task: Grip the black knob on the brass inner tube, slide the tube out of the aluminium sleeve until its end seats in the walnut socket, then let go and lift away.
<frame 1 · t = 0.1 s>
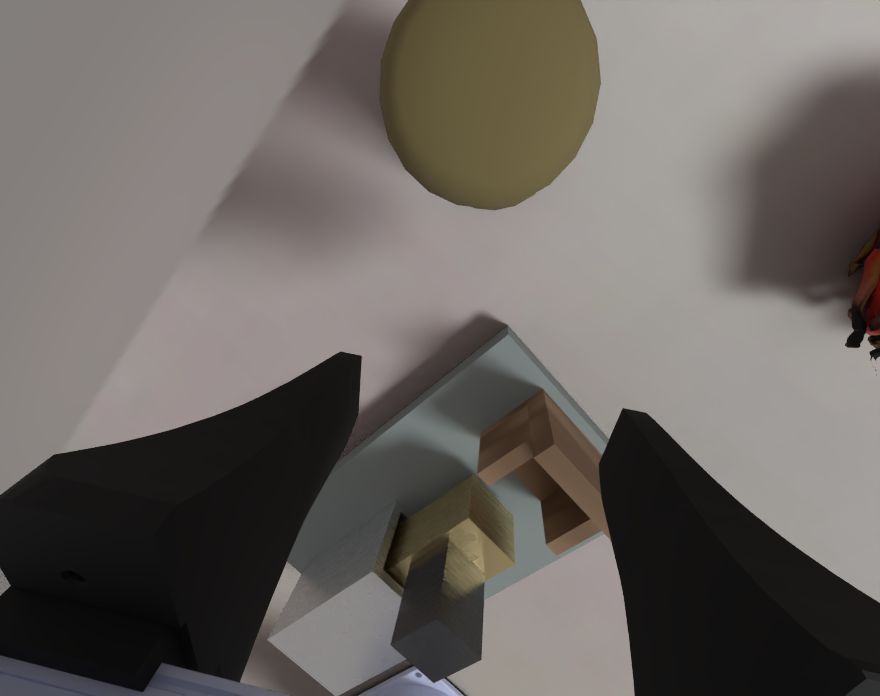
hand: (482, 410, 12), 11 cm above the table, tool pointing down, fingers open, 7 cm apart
walnut socket: (546, 449, 22), resting on slate board
brass tube: (397, 604, 21), point 6 cm above the table, slide at 0.0 cm
slate board: (442, 502, 26), on the table
cork: (493, 138, 19), on the table
aluminium sleeve: (379, 559, 26), resting on slate board
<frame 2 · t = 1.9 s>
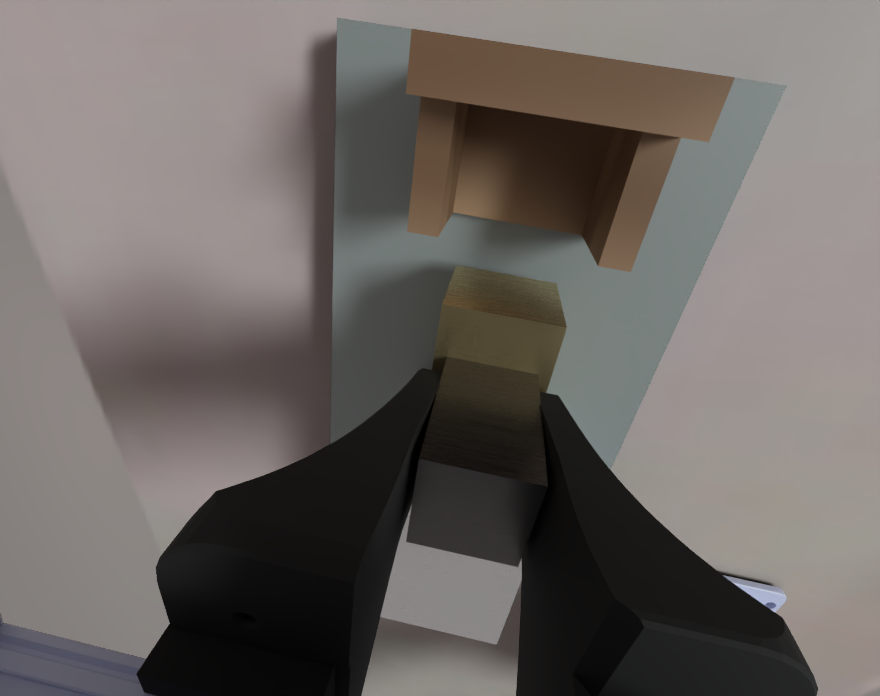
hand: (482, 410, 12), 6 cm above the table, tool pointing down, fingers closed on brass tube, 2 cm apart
walnut socket: (531, 152, 13), resting on slate board
brass tube: (463, 492, 14), point 6 cm above the table, slide at 0.0 cm, touching gripper
slate board: (486, 346, 18), on the table
aluminium sleeve: (462, 461, 19), resting on slate board
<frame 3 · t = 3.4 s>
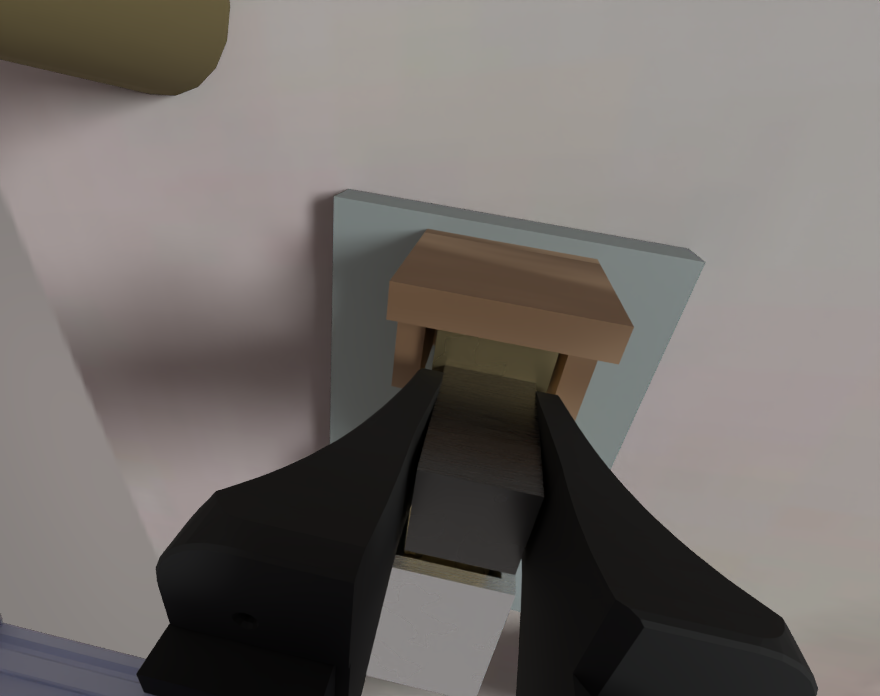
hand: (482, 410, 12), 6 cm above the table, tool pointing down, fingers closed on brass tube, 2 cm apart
walnut socket: (498, 299, 15), resting on slate board
brass tube: (461, 498, 14), point 6 cm above the table, slide at 4.5 cm, touching gripper, walnut socket
slate board: (466, 435, 20), on the table
aluminium sleeve: (446, 532, 21), resting on slate board
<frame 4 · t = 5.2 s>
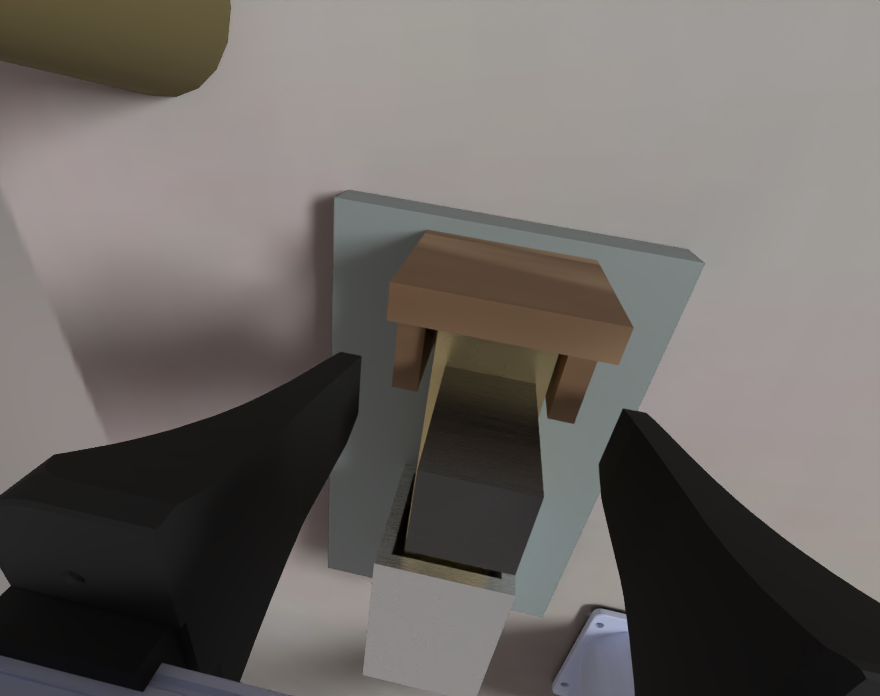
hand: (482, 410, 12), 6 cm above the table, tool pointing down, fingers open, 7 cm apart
walnut socket: (498, 300, 15), resting on slate board
brass tube: (462, 498, 14), point 6 cm above the table, slide at 4.5 cm, touching walnut socket
slate board: (466, 435, 20), on the table
aluminium sleeve: (446, 532, 21), resting on slate board
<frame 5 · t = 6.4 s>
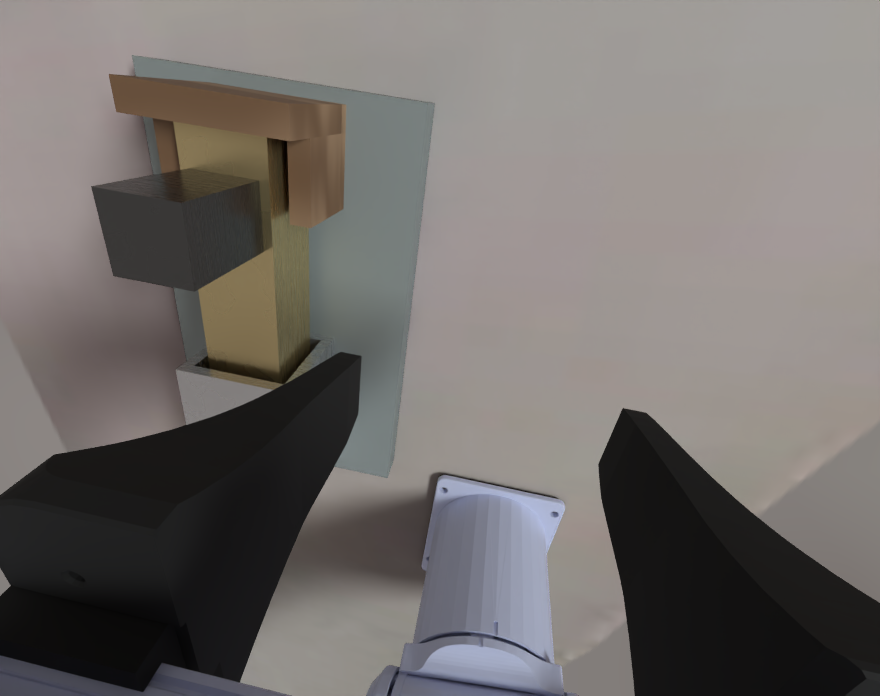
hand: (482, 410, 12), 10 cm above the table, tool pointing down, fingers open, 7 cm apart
walnut socket: (279, 148, 18), resting on slate board
brass tube: (230, 299, 17), point 6 cm above the table, slide at 4.5 cm, touching walnut socket
slate board: (299, 299, 23), on the table
aluminium sleeve: (289, 391, 24), resting on slate board
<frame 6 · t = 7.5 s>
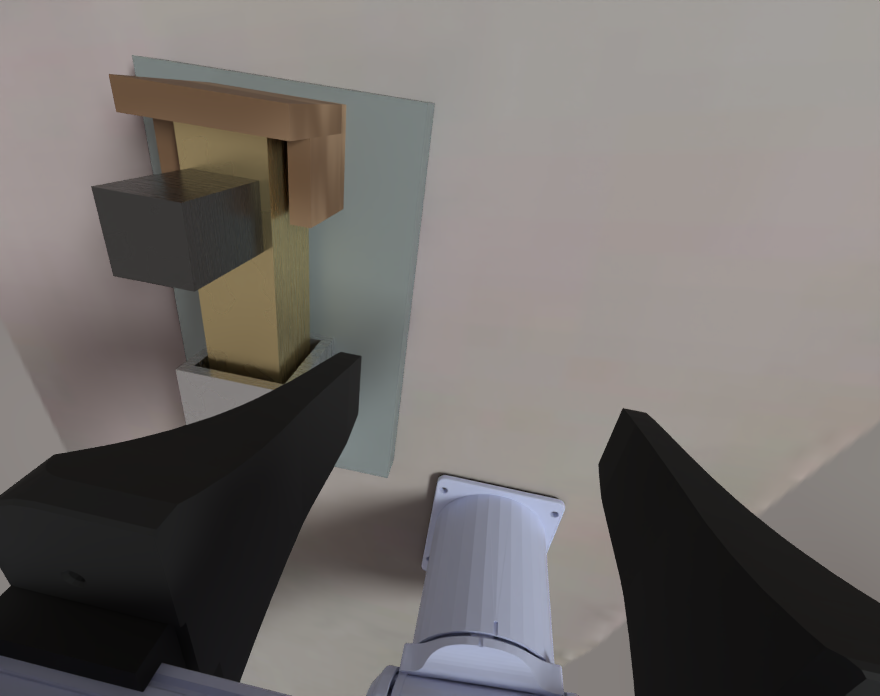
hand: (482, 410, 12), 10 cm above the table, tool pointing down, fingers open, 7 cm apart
walnut socket: (279, 148, 18), resting on slate board
brass tube: (230, 299, 17), point 6 cm above the table, slide at 4.5 cm, touching walnut socket
slate board: (299, 299, 23), on the table
aluminium sleeve: (289, 391, 24), resting on slate board
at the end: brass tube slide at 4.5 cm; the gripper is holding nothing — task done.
